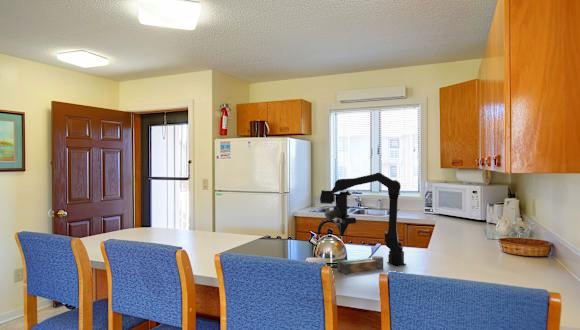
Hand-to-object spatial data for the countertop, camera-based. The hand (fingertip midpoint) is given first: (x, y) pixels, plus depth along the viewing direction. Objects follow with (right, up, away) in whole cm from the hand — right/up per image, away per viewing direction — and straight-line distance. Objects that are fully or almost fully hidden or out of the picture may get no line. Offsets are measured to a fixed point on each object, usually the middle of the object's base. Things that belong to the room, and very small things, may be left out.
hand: (341, 235), depth 187 cm
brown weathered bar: (+4, -12, -17) cm, 21 cm away
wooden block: (+7, -12, -18) cm, 23 cm away
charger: (-14, -13, -21) cm, 28 cm away
